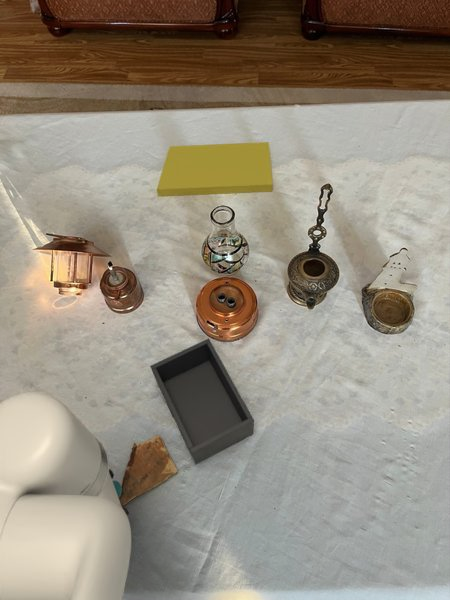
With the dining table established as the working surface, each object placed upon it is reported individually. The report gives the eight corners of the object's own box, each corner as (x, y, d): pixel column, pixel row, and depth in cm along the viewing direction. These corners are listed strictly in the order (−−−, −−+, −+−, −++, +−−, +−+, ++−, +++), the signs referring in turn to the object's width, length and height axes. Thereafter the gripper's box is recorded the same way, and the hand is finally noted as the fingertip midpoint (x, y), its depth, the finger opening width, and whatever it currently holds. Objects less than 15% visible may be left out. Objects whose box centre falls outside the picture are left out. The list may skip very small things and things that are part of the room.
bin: (253, 434, 85) (254, 420, 78) (195, 464, 83) (191, 453, 76) (211, 356, 92) (208, 338, 85) (156, 382, 90) (150, 365, 83)
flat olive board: (268, 149, 116) (160, 154, 116) (268, 142, 114) (158, 146, 114) (272, 191, 110) (158, 196, 110) (272, 184, 108) (156, 189, 108)
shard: (116, 511, 80) (114, 509, 78) (97, 466, 83) (94, 464, 82) (179, 474, 82) (178, 472, 81) (158, 432, 86) (157, 429, 84)
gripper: (5, 409, 53) (60, 452, 69) (56, 576, 46) (105, 581, 62) (75, 377, 55) (113, 426, 71) (136, 533, 47) (163, 549, 63)
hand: (109, 498), depth 66 cm, fingers open, 4 cm apart
